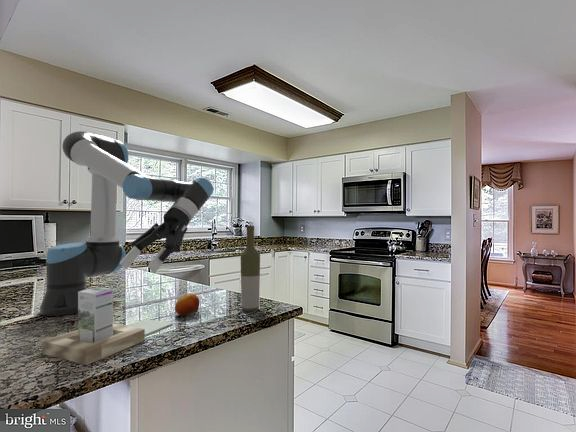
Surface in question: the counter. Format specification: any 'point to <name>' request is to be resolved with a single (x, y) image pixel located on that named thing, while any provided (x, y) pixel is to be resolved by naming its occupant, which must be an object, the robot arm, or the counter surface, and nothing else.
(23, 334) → the counter surface
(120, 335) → the slotted stand
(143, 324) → the mat
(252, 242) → the bottle
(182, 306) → the fruit
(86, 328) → the syrup box
